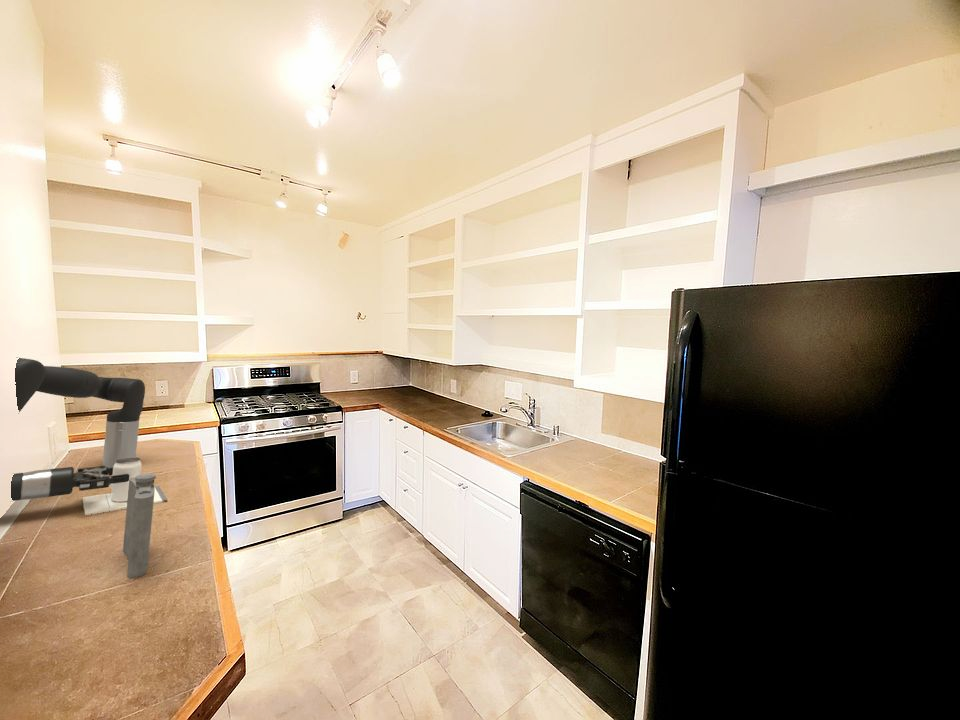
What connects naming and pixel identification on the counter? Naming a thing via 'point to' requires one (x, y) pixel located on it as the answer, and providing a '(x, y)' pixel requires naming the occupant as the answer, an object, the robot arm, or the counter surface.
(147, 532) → the grey upright slab
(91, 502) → the notepad
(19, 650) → the counter surface
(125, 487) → the can
